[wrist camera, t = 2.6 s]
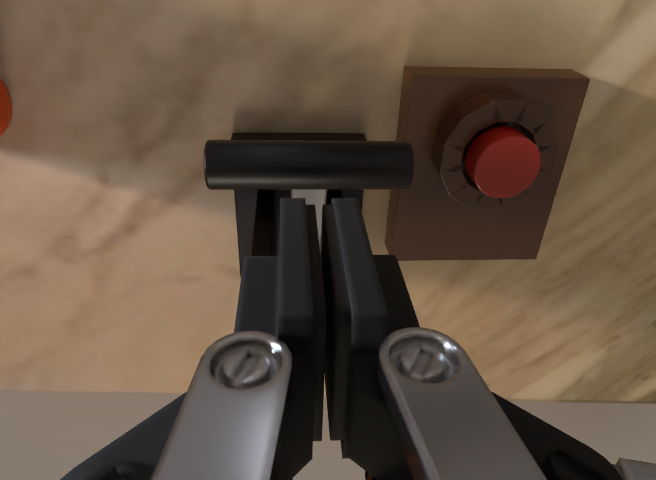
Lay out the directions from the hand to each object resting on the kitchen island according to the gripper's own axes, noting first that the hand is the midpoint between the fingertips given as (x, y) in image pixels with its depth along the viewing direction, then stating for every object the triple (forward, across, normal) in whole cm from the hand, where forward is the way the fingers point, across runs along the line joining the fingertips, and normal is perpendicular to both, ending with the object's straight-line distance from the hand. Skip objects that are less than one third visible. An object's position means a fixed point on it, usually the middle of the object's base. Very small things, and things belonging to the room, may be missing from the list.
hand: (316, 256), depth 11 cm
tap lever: (+9, 0, +4) cm, 9 cm away
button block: (+20, -11, +6) cm, 24 cm away
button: (+16, -11, +4) cm, 20 cm away
